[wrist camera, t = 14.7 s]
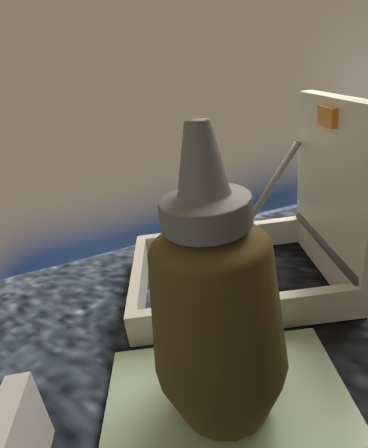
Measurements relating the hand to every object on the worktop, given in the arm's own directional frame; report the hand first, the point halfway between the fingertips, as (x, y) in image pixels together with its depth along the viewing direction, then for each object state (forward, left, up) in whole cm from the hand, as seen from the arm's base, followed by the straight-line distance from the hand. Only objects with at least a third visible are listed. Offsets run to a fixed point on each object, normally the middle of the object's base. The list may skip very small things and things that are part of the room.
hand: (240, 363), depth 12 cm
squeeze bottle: (0, -8, -11) cm, 14 cm away
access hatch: (-3, -22, -12) cm, 25 cm away
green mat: (0, -8, -12) cm, 14 cm away
